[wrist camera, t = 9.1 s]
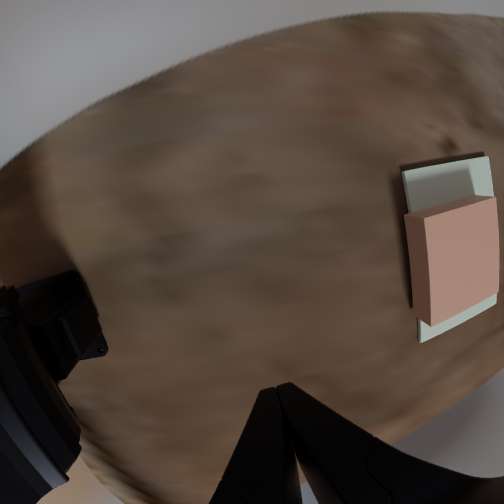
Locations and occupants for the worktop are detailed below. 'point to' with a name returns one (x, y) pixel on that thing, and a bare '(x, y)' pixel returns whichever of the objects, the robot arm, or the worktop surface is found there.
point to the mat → (440, 192)
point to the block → (453, 256)
